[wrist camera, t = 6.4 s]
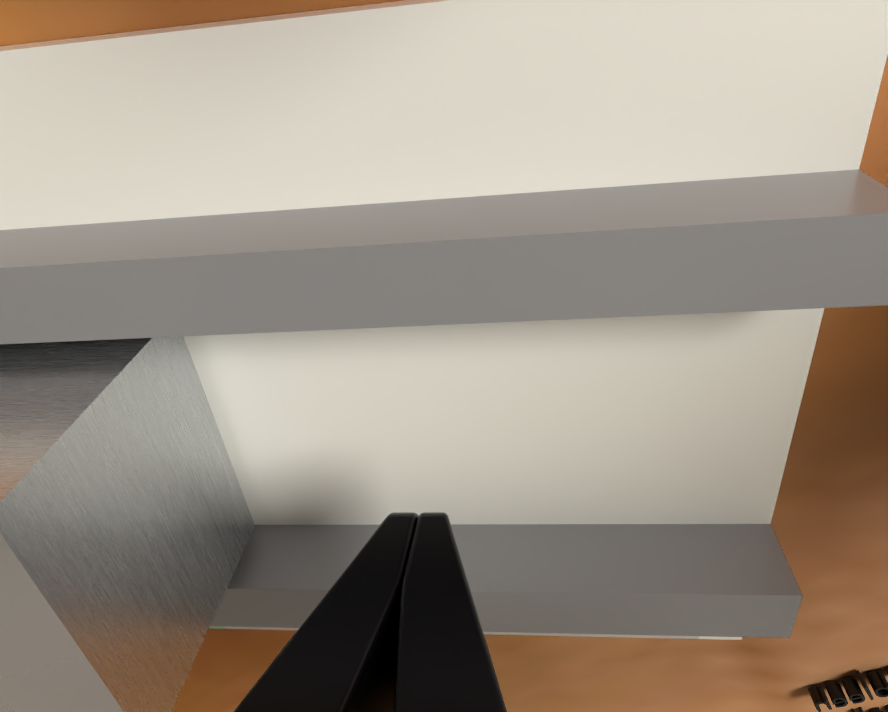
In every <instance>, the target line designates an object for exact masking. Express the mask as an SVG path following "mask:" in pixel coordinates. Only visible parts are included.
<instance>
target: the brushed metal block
mask: <svg viewBox="0 0 888 712" xmlns="http://www.w3.org/2000/svg"><path fill="white" fill-rule="evenodd" d="M254 527H255V525H254V522H253V520H252V517H251V514H250V512H249V509H248V506H247V504H246V501H245V498H244V496H243V493H242V490H241V488H240V485H239V482H238V480H237V477H236V474H235V472H234V469H233V466H232V464H231V461H230V458H229V456H228V453H227V451H226V448H225V445H224V443H223V440H222V437H221V435H220V432H219V429H218V427H217V424H216V421H215V419H214V416H213V413H212V411H211V408H210V405H209V403H208V400H207V397H206V395H205V392H204V390H203V387H202V384H201V382H200V379H199V376H198V374H197V371H196V368H195V366H194V363H193V360H192V358H191V355H190V352H189V350H188V347H187V344H186V342H185V339H184V336H180V337H157V338H135V339H112V340H89V341H67V342H44V343H21V344H0V712H172V710H173V708H174V705H175V703H176V701H177V699H178V696H179V694H180V692H181V690H182V687H183V685H184V683H185V681H186V679H187V676H188V674H189V672H190V670H191V667H192V665H193V663H194V661H195V658H196V656H197V654H198V652H199V649H200V647H201V645H202V643H203V641H204V638H205V636H206V634H207V632H208V629H209V627H210V625H211V623H212V620H213V618H214V616H215V614H216V611H217V609H218V607H219V605H220V603H221V600H222V598H223V596H224V594H225V591H226V589H227V587H228V585H229V582H230V580H231V578H232V576H233V573H234V571H235V569H236V567H237V565H238V562H239V560H240V558H241V556H242V553H243V551H244V549H245V547H246V544H247V542H248V540H249V538H250V535H251V533H252V531H253V529H254Z"/></svg>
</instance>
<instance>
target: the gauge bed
mask: <svg viewBox="0 0 888 712" xmlns="http://www.w3.org/2000/svg"><path fill="white" fill-rule="evenodd" d="M887 55H888V0H405V1H396V2H387V3H378V4H369V5H361V6H352V7H343V8H334V9H326V10H317V11H308V12H299V13H290V14H282V15H273V16H264V17H255V18H247V19H238V20H229V21H220V22H211V23H203V24H194V25H185V26H176V27H167V28H159V29H150V30H141V31H132V32H124V33H115V34H106V35H97V36H88V37H80V38H71V39H62V40H53V41H45V42H36V43H27V44H18V45H9V46H1V47H0V344H21V343H44V342H67V341H89V340H112V339H135V338H157V337H180V336H184V339H185V342H186V344H187V347H188V350H189V352H190V355H191V358H192V360H193V363H194V366H195V368H196V371H197V374H198V376H199V379H200V382H201V384H202V387H203V390H204V392H205V395H206V397H207V400H208V403H209V405H210V408H211V411H212V413H213V416H214V419H215V421H216V424H217V427H218V429H219V432H220V435H221V437H222V440H223V443H224V445H225V448H226V451H227V453H228V456H229V458H230V461H231V464H232V466H233V469H234V472H235V474H236V477H237V480H238V482H239V485H240V488H241V490H242V493H243V496H244V498H245V501H246V504H247V506H248V509H249V512H250V514H251V517H252V520H253V522H254V525H255V527H254V529H253V531H252V533H251V535H250V538H249V540H248V542H247V544H246V547H245V549H244V551H243V553H242V556H241V558H240V560H239V562H238V565H237V567H236V569H235V571H234V573H233V576H232V578H231V580H230V582H229V585H228V587H227V589H226V591H225V594H224V596H223V598H222V600H221V603H220V605H219V607H218V609H217V611H216V614H215V616H214V618H213V620H212V623H211V625H210V627H209V629H255V630H298V629H299V628H300V627H301V625H302V624H303V623H304V621H305V620H306V619H307V618H308V616H309V615H310V614H311V612H312V611H313V610H314V609H315V607H316V606H317V605H318V604H319V602H320V601H321V600H322V598H323V597H324V596H325V595H326V593H327V592H328V591H329V589H330V588H331V587H332V586H333V584H334V583H335V582H336V581H337V579H338V578H339V577H340V575H341V574H342V573H343V572H344V570H345V569H346V568H347V566H348V565H349V564H350V563H351V561H352V560H353V559H354V558H355V556H356V555H357V554H358V552H359V551H360V550H361V549H362V547H363V546H364V545H365V543H366V542H367V541H368V540H369V538H370V537H371V536H372V535H373V533H374V532H375V531H376V529H377V528H378V527H379V526H380V524H381V523H382V522H383V520H384V519H385V518H386V517H387V516H388V515H389V514H390V513H393V512H414V513H416V514H418V516H419V515H420V514H421V513H423V512H444V513H446V514H447V515H448V517H449V520H450V523H451V527H452V530H453V533H454V537H455V540H456V544H457V547H458V550H459V554H460V557H461V560H462V564H463V567H464V570H465V574H466V577H467V580H468V584H469V587H470V590H471V594H472V597H473V600H474V604H475V607H476V610H477V614H478V617H479V620H480V624H481V627H482V630H483V634H488V635H535V636H582V637H628V638H675V639H725V640H742V637H759V638H790V635H791V632H792V629H793V625H794V622H795V619H796V616H797V613H798V610H799V606H800V603H801V600H802V597H803V595H802V593H801V590H800V588H799V586H798V584H797V582H796V579H795V577H794V575H793V573H792V570H791V568H790V566H789V564H788V561H787V559H786V557H785V555H784V553H783V550H782V548H781V546H780V544H779V541H778V539H777V537H776V535H775V533H774V530H773V528H772V526H771V520H772V516H773V512H774V508H775V504H776V500H777V496H778V492H779V488H780V484H781V480H782V476H783V472H784V468H785V464H786V460H787V456H788V452H789V448H790V444H791V440H792V436H793V432H794V428H795V424H796V420H797V416H798V412H799V408H800V404H801V400H802V396H803V392H804V388H805V384H806V380H807V376H808V372H809V368H810V364H811V360H812V356H813V352H814V348H815V344H816V340H817V336H818V332H819V328H820V324H821V320H822V316H823V312H824V308H838V307H860V306H883V305H888V187H886V186H884V185H883V184H881V183H880V182H878V181H877V180H875V179H873V178H872V177H870V176H869V175H867V174H865V173H864V172H862V171H861V170H859V167H860V163H861V159H862V155H863V151H864V147H865V143H866V139H867V135H868V131H869V127H870V123H871V119H872V115H873V111H874V107H875V103H876V99H877V95H878V91H879V87H880V83H881V79H882V75H883V71H884V67H885V63H886V59H887Z"/></svg>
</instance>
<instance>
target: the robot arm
mask: <svg viewBox="0 0 888 712" xmlns="http://www.w3.org/2000/svg"><path fill="white" fill-rule="evenodd" d="M234 712H507V710H506V707H505V704H504V700H503V697H502V694H501V690H500V687H499V684H498V680H497V677H496V674H495V670H494V667H493V664H492V660H491V657H490V654H489V650H488V647H487V644H486V640H485V637H484V634H483V630H482V627H481V624H480V620H479V617H478V614H477V610H476V607H475V604H474V600H473V597H472V594H471V590H470V587H469V584H468V580H467V577H466V574H465V570H464V567H463V564H462V560H461V557H460V554H459V550H458V547H457V544H456V540H455V537H454V533H453V530H452V527H451V523H450V520H449V517H448V515H447V514H446V513H444V512H423V513H421V514H420V515H419V516H418V514H416V513H414V512H393V513H390V514H389V515H388V516H387V517H386V518H385V519H384V520H383V522H382V523H381V524H380V526H379V527H378V528H377V529H376V531H375V532H374V533H373V535H372V536H371V537H370V538H369V540H368V541H367V542H366V543H365V545H364V546H363V547H362V549H361V550H360V551H359V552H358V554H357V555H356V556H355V558H354V559H353V560H352V561H351V563H350V564H349V565H348V566H347V568H346V569H345V570H344V572H343V573H342V574H341V575H340V577H339V578H338V579H337V581H336V582H335V583H334V584H333V586H332V587H331V588H330V589H329V591H328V592H327V593H326V595H325V596H324V597H323V598H322V600H321V601H320V602H319V604H318V605H317V606H316V607H315V609H314V610H313V611H312V612H311V614H310V615H309V616H308V618H307V619H306V620H305V621H304V623H303V624H302V625H301V627H300V628H299V629H298V630H297V632H296V633H295V634H294V635H293V637H292V638H291V639H290V641H289V642H288V643H287V644H286V646H285V647H284V648H283V650H282V651H281V652H280V653H279V655H278V656H277V657H276V658H275V660H274V661H273V662H272V664H271V665H270V666H269V667H268V669H267V670H266V671H265V672H264V674H263V675H262V676H261V678H260V679H259V680H258V681H257V683H256V684H255V685H254V687H253V688H252V689H251V690H250V692H249V693H248V694H247V695H246V697H245V698H244V699H243V701H242V702H241V703H240V704H239V706H238V707H237V708H236V710H235V711H234Z"/></svg>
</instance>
